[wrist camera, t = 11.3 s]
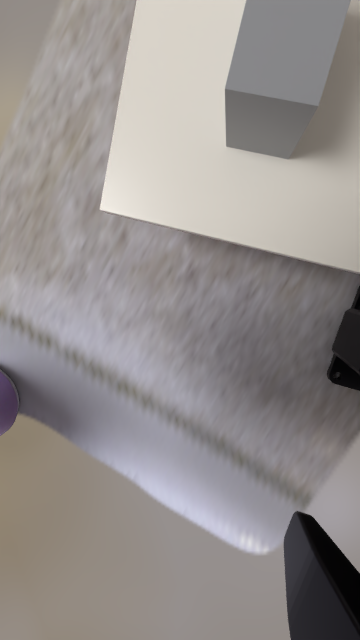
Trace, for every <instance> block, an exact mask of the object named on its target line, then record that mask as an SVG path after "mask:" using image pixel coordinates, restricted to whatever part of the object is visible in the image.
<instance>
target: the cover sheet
mask: <svg viewBox="0 0 360 640" xmlns="http://www.w3.org/2000/svg"><path fill="white" fill-rule="evenodd" d="M100 210H102V211H104V212H106V213H108V214H112V215H117V216H121V217H125V218H129V219H133V220H137V221H141V222H145V223H149V224H154V225H158V226H162V227H166V228H170V229H174V230H178V231H182V232H187V233H191V234H195V235H199V236H203V237H207V238H211V239H215V240H219V241H224V242H228V243H232V244H236V245H240V246H244V247H248V248H252V249H257V250H261V251H265V252H269V253H273V254H277V255H281V256H285V257H290V258H294V259H298V260H302V261H306V262H310V263H314V264H318V265H322V266H327V267H331V268H335V269H339V270H343V271H347V272H351V273H355V274H360V0H137V2H136V8H135V13H134V19H133V25H132V30H131V36H130V42H129V47H128V53H127V59H126V64H125V70H124V76H123V81H122V87H121V92H120V98H119V104H118V109H117V115H116V121H115V126H114V132H113V138H112V143H111V149H110V155H109V160H108V166H107V172H106V177H105V183H104V188H103V194H102V200H101V205H100Z"/></svg>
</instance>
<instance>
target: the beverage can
mask: <svg viewBox="0 0 360 640" xmlns="http://www.w3.org/2000/svg"><path fill="white" fill-rule="evenodd" d="M18 409H19V396H18V392H17V389H16V387H15V385H14V383H13V382H12V380H11V379H10V378H9V377H8V375H7V374H5V373H4V372H3V371H2V370H0V436H1V435H2V434H3V433H5V432H6V431H7V430H8V429H9V428H10V427H11V426H12V425H13V423H14V421H15V419H16V416H17V413H18Z"/></svg>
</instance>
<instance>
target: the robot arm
mask: <svg viewBox="0 0 360 640" xmlns="http://www.w3.org/2000/svg"><path fill="white" fill-rule="evenodd" d="M332 350H333V352H334V355H333V358H332V361H331V363H330V366H329V369H328V371H327V377H328V378H329V379H330V381H331V382H332V383H334V384H338V385H341V386H345V387H348V388H352V389H355V390H359V391H360V286H359V289H358V291H357V294H356V297H355V299H354V302H353V305H352V307H351V308H350V309H348V310H346V312H345V314H344V317H343V319H342V322H341V325H340V328H339V330H338V333H337V336H336V338H335V341H334V344H333V346H332ZM337 372H340V376H339V377H337V378H334V377H333V375H334V374H335V373H337ZM284 558H285V579H286V597H287V612H288V622H289V630H290V637H291V640H360V573H359V572H358V571H357V570H356V568H355V567H354V566H353V565H352V564H351V562H350V561H349V560H348V559H347V558H346V556H345V555H344V554H343V553H342V552H341V550H340V549H339V548H338V547H337V545H336V544H335V543H334V542H333V541H332V539H331V538H330V537H329V536H328V535H327V533H326V532H325V531H324V530H323V529H322V527H321V526H320V525H319V524H318V522H317V521H316V520H315V519H314V518H313V517H312V516H311V515H308V514H305V513H302V512H299V511H296V512H295V513H294V514H293V516H292V519H291V521H290V524H289V526H288V529H287V531H286V534H285V537H284Z"/></svg>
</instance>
